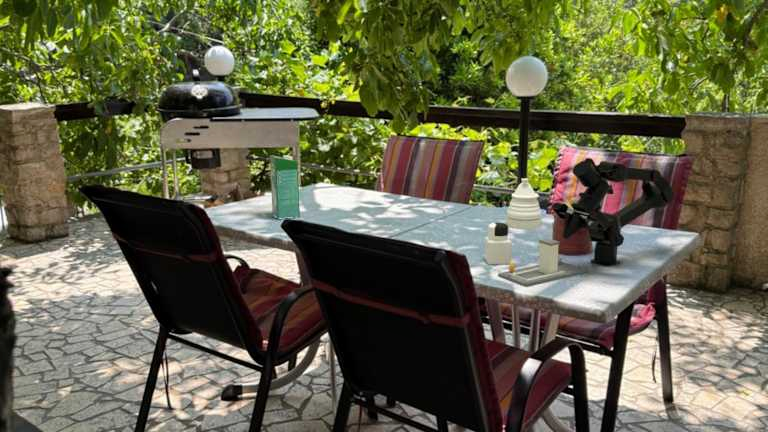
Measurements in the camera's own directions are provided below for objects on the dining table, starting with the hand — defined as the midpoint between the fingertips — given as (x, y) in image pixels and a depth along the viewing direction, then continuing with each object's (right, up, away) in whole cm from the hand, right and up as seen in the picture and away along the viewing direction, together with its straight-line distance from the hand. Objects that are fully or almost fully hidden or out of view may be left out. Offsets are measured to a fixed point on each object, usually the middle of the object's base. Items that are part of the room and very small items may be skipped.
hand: (564, 238), depth 214 cm
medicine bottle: (-17, -8, +15) cm, 24 cm away
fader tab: (-5, -11, -1) cm, 12 cm away
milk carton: (-92, +6, +81) cm, 123 cm away
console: (-6, -11, +1) cm, 12 cm away
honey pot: (0, +3, +61) cm, 61 cm away
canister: (+9, -5, +26) cm, 28 cm away
